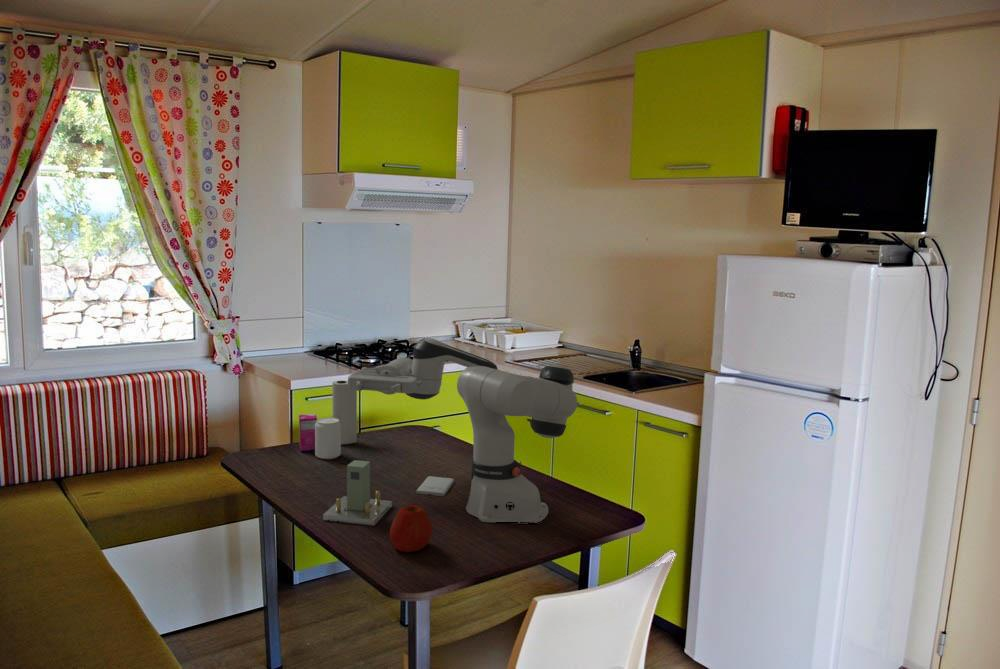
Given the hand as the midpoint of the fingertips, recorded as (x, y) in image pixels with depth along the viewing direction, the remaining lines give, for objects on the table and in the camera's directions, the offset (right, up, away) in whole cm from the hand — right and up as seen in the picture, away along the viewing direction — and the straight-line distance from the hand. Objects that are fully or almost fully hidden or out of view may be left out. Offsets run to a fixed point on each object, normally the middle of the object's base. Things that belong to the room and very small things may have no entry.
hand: (374, 389), depth 230 cm
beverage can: (-20, -24, +35) cm, 47 cm away
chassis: (-2, -32, -12) cm, 35 cm away
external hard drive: (+17, -30, +9) cm, 36 cm away
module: (-2, -31, -12) cm, 33 cm away
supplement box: (-28, -23, +41) cm, 55 cm away
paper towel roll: (-18, -22, +49) cm, 57 cm away
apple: (+14, -36, -32) cm, 51 cm away
